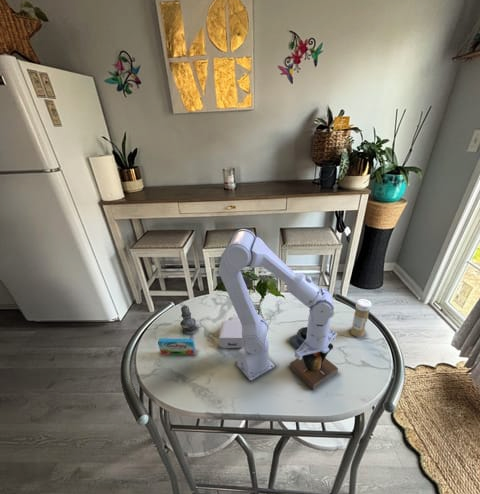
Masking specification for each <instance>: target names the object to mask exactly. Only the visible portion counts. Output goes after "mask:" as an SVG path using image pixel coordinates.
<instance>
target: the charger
mask: <svg viewBox="0 0 480 494" xmlns="http://www.w3.org/2000/svg"><path fill="white" fill-rule="evenodd" d="M243 343H244V340H243V338H242V324H241V322H240V320H239V317H238V316H235V314H233V316H230V317H229V318H228V319H227V320H226V319H225V320H223V321H222V322H221V326H220V331H219V334H218V345H219V347H220V348H223V349H241V348H242V347H243Z"/></svg>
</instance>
